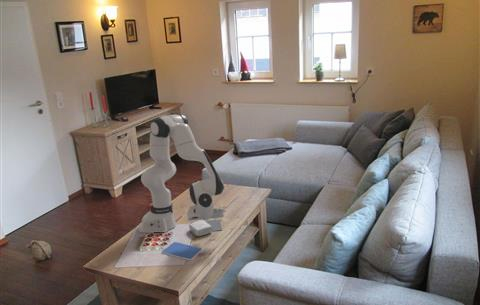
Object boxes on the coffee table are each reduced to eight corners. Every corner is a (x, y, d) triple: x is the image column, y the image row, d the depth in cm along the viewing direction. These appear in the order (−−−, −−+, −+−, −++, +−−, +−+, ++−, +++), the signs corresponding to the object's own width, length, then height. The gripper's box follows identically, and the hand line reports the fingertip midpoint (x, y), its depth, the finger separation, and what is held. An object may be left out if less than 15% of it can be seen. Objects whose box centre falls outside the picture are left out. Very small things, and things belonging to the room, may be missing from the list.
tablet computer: (160, 254, 212) (160, 251, 212) (174, 242, 223) (174, 240, 222) (190, 262, 203) (190, 259, 203) (203, 250, 214) (203, 248, 214)
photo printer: (213, 232, 231) (203, 224, 241) (212, 225, 230) (202, 218, 240) (197, 237, 226) (187, 229, 236) (196, 230, 224) (187, 222, 234)
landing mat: (191, 233, 231) (191, 232, 231) (190, 222, 245) (190, 222, 245) (221, 230, 234) (221, 229, 233) (220, 219, 247) (219, 219, 247)
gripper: (224, 203, 217) (223, 212, 229) (186, 206, 215) (187, 215, 227) (225, 214, 214) (224, 222, 226) (187, 217, 212) (188, 226, 224)
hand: (205, 219), depth 226 cm, fingers closed
